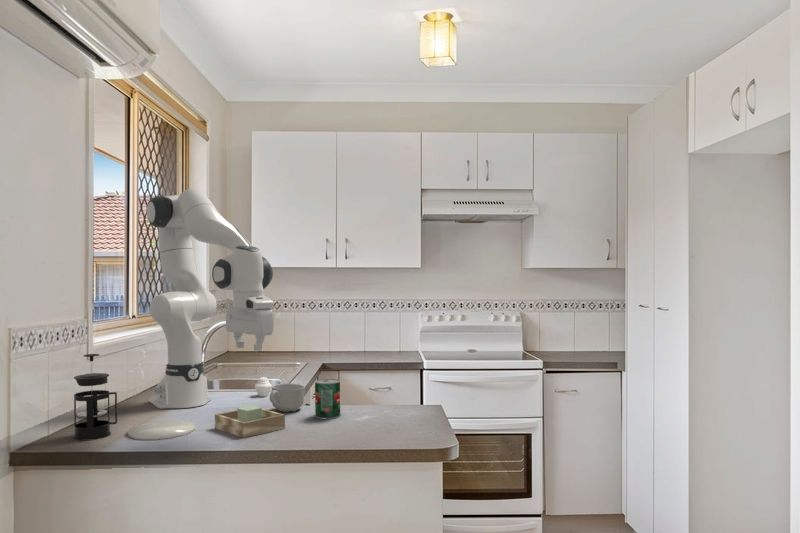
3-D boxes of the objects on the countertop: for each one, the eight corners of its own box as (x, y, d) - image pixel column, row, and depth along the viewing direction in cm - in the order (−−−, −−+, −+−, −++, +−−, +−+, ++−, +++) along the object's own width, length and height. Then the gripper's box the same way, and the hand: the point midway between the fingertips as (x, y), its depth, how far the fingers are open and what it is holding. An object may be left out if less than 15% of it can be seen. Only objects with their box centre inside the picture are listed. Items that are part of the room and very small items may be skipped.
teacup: (290, 405, 217) (289, 381, 217) (312, 409, 210) (311, 385, 210) (256, 412, 206) (256, 387, 206) (278, 417, 200) (278, 391, 200)
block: (237, 428, 186) (237, 408, 186) (252, 425, 190) (252, 405, 190) (247, 431, 183) (246, 410, 183) (262, 428, 186) (261, 407, 186)
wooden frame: (215, 428, 187) (214, 414, 187) (255, 419, 197) (255, 406, 197) (243, 437, 176) (243, 423, 176) (285, 428, 186) (284, 414, 186)
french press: (68, 442, 174) (67, 357, 174) (73, 433, 183) (72, 353, 183) (115, 437, 178) (114, 354, 178) (118, 429, 187) (117, 350, 187)
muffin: (267, 398, 229) (266, 378, 229) (251, 397, 231) (251, 377, 231) (274, 394, 235) (274, 375, 235) (259, 393, 237) (259, 374, 237)
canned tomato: (344, 416, 199) (344, 381, 199) (321, 420, 195) (320, 384, 195) (334, 412, 206) (333, 377, 206) (311, 415, 202) (311, 380, 202)
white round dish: (117, 432, 184) (117, 428, 184) (177, 420, 197) (176, 417, 197) (144, 443, 171) (144, 440, 171) (206, 430, 184) (206, 427, 184)
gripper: (220, 301, 191) (220, 347, 191) (258, 303, 177) (258, 353, 177) (238, 300, 196) (239, 345, 196) (277, 302, 182) (278, 351, 182)
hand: (248, 349), depth 186 cm, fingers open, 8 cm apart
